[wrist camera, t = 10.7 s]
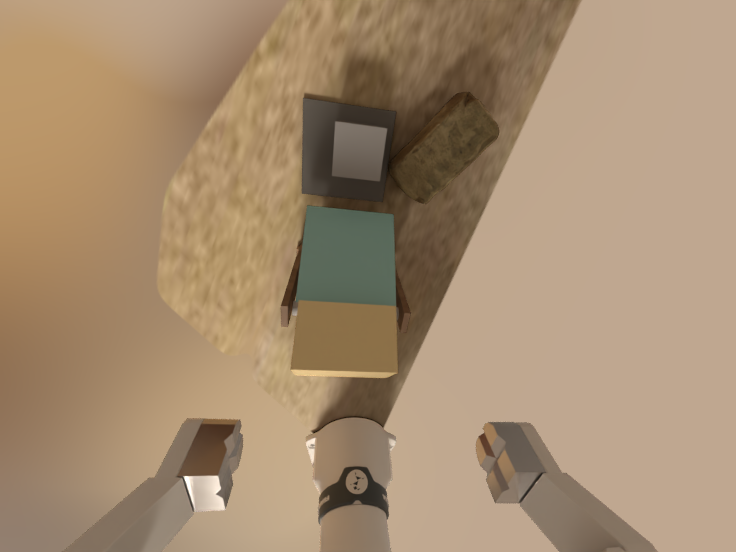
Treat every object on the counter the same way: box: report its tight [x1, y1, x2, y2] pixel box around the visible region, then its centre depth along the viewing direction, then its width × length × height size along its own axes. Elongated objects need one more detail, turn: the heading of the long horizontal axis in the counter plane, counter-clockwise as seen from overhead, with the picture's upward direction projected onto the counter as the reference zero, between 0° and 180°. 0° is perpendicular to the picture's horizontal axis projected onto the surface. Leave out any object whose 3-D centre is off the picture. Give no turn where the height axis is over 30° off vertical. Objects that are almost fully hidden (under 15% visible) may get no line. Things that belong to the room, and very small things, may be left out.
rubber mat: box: [302, 98, 396, 202], centre depth 34 cm, size 10×10×1 cm
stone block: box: [388, 92, 499, 204], centre depth 33 cm, size 6×12×5 cm, turn 136°
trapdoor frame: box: [281, 244, 411, 333], centre depth 35 cm, size 8×13×14 cm, turn 83°
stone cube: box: [332, 120, 387, 181], centre depth 31 cm, size 5×5×5 cm
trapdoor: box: [291, 205, 399, 378], centre depth 30 cm, size 18×10×5 cm
